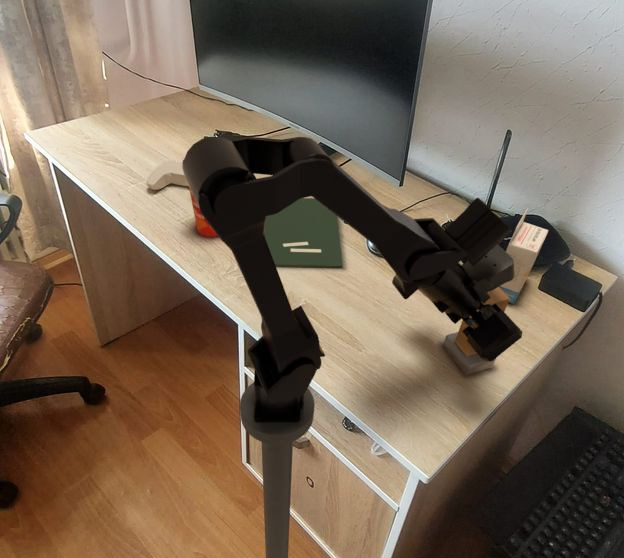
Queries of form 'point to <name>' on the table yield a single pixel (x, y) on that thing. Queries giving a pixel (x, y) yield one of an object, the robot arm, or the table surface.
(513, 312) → the table surface
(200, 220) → the coffee cup
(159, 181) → the game controller
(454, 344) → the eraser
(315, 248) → the chalkboard
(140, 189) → the table surface
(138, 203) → the table surface
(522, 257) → the ink box
